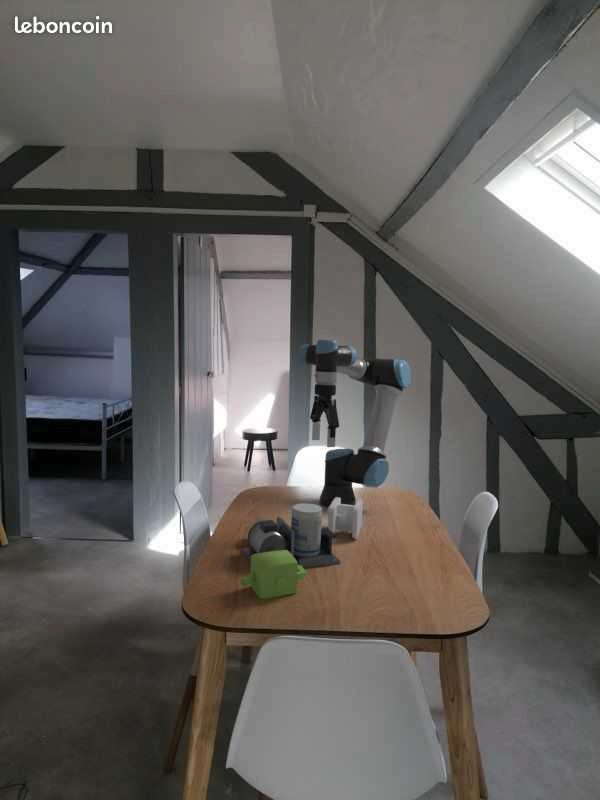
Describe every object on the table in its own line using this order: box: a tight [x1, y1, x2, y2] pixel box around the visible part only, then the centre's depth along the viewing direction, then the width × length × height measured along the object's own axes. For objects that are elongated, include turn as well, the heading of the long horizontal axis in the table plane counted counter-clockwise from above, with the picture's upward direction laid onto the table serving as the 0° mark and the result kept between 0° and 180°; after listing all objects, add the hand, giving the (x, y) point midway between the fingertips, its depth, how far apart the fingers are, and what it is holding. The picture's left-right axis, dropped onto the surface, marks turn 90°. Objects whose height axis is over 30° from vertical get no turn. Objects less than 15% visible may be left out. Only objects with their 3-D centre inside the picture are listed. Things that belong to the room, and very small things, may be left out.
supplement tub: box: [290, 503, 323, 557], centre depth 174 cm, size 10×10×15 cm
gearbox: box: [240, 550, 308, 600], centre depth 148 cm, size 18×10×10 cm, turn 113°
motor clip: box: [242, 516, 341, 569], centre depth 172 cm, size 27×18×12 cm, turn 111°
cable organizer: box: [327, 497, 364, 540], centre depth 196 cm, size 15×11×12 cm
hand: (323, 443), depth 196 cm, fingers open, 13 cm apart
